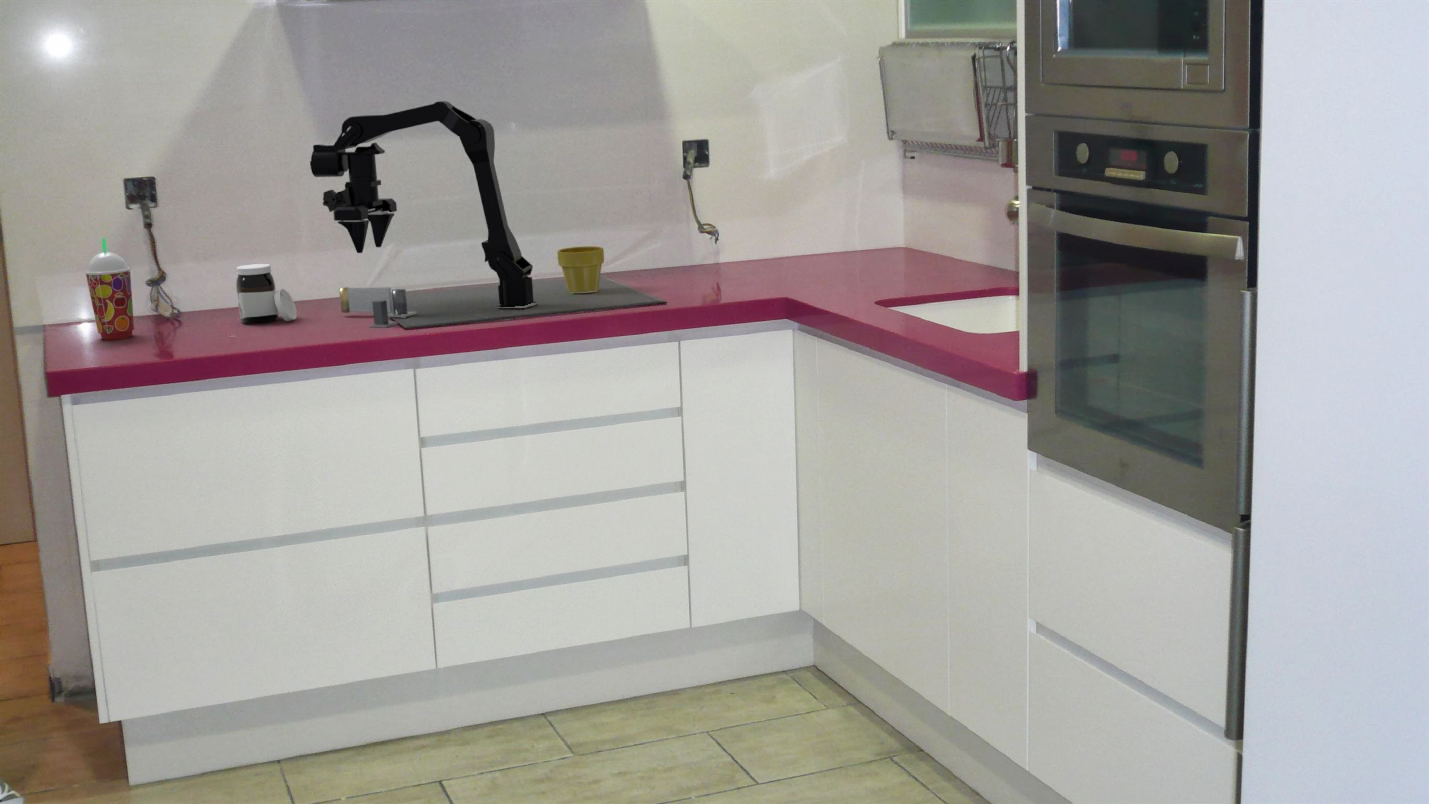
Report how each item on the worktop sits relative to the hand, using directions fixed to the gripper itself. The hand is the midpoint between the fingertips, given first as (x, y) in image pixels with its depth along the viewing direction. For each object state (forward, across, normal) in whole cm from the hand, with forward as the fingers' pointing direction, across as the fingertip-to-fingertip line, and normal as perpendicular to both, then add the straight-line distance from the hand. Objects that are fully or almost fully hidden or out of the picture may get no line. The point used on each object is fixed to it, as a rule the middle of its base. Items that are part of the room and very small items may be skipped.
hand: (369, 250), depth 302 cm
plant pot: (+13, -22, +40) cm, 48 cm away
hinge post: (+13, +7, +9) cm, 17 cm away
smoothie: (+14, +31, -42) cm, 53 cm away
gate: (+12, +7, +2) cm, 14 cm away
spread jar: (+14, +12, -18) cm, 26 cm away
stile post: (+13, +18, +10) cm, 24 cm away
